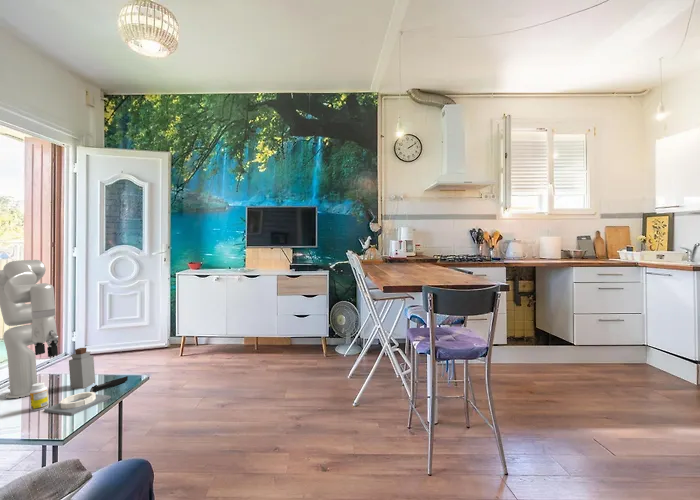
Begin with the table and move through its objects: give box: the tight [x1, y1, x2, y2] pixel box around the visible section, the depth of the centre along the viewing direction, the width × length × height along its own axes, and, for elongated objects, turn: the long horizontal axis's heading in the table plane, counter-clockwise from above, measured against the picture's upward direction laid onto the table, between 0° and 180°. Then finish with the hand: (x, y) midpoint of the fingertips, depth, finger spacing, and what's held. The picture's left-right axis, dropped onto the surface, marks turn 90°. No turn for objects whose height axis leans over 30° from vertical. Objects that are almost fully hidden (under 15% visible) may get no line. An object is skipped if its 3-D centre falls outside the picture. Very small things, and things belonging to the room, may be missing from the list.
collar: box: [43, 391, 112, 416], centre depth 150 cm, size 16×16×3 cm
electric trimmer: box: [89, 375, 129, 393], centre depth 170 cm, size 4×16×3 cm, turn 144°
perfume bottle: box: [68, 347, 96, 390], centre depth 173 cm, size 7×7×18 cm
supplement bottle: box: [29, 381, 50, 412], centre depth 149 cm, size 6×6×10 cm
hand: (46, 355), depth 150 cm, fingers open, 9 cm apart
